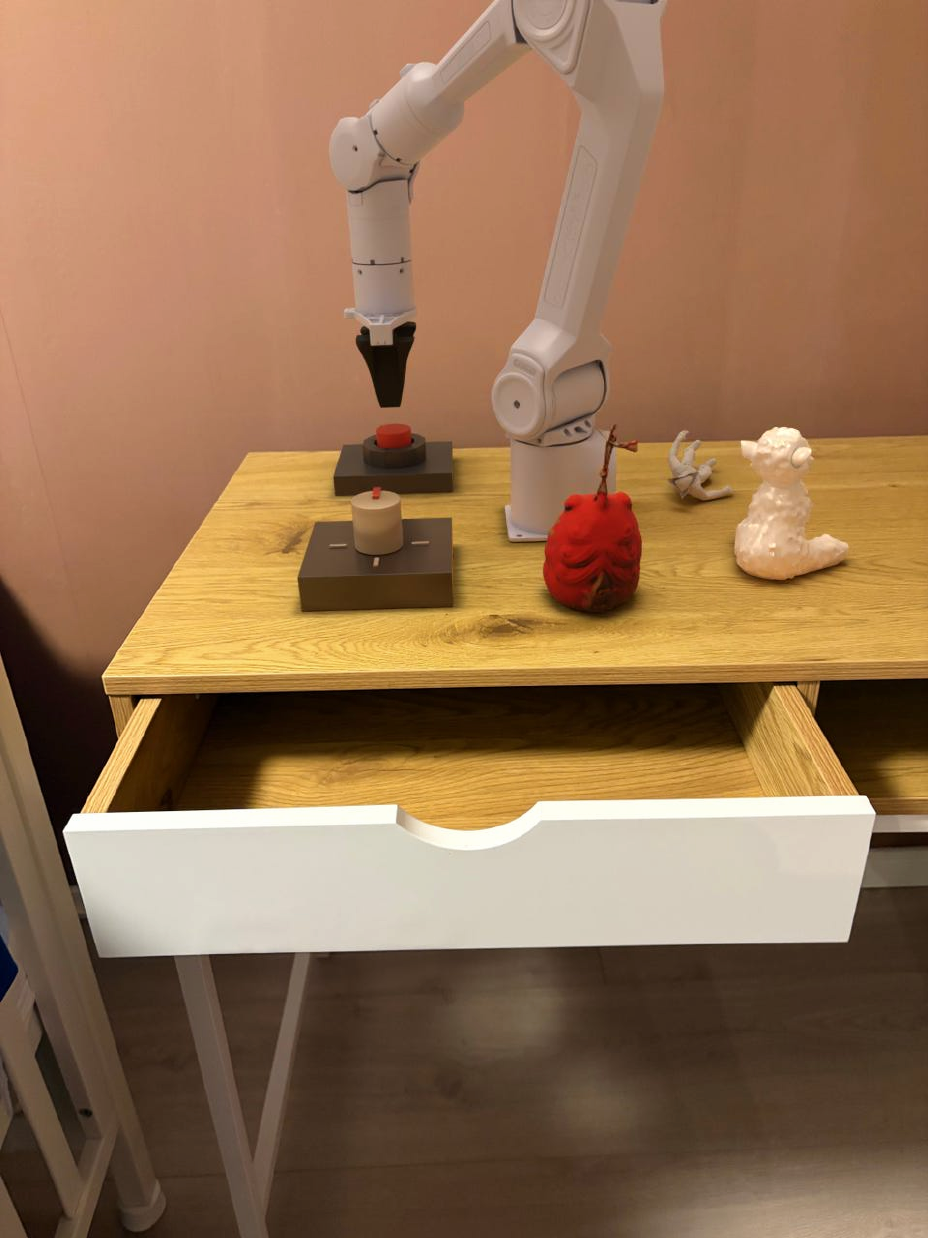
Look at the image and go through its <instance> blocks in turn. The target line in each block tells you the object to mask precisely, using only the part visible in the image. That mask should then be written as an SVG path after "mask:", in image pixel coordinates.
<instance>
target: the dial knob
mask: <svg viewBox="0 0 928 1238" xmlns="http://www.w3.org/2000/svg"><path fill="white" fill-rule="evenodd" d="M350 507H351V508H350V509H351V521H353V531H354V542H355V548H356V550H358V551H359V552H361V553H364V554H369V555H383V554H389V553H392V552H395V551H397V550H399V549H400V548H401V547H402V546H403V528H402V519H403V514H402V501H401V496H400V494H396V493H393V492H389V491H381V487H374V489H373V491H369V492H364V493H361V494H358V495H356V496H352V498H351V500H350Z"/></svg>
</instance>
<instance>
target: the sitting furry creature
mask: <svg viewBox="0 0 928 1238" xmlns="http://www.w3.org/2000/svg"><path fill="white" fill-rule="evenodd" d="M740 448H741V456H742V458H743V459H744V460H746V461H749V462H750V465H749V466H750V468H751V469H752V470H753V472H754V473H755V474H756V475H758V476H759V477H760V479H762V483H761V484H759V486H758V487H757V490H756V492H754V493H753V494H752V496H751V502H750V504H749V505H748V506H747V508H748V510H747V512H746V515H747V517H746V518H744V519H742V521H741V522H740V523H738V524H737V526H736V527H735V534H734V543H733V544H734V547H733V548H734V550H733V551H734V552H733V554H734V555H735V557H736V559H735V561H736V565H738V566H739V568H741V570H742V571H743V572H745V573H746V574H747V575H750V576H751V577H756V578H759V579H764V580H770V581H773V580H775V581H786V580H787V579H793V578H794V577H798V576H801V575H805V574H809V573H812V572H815V571H819V570H823V569H825V568H830V567H833V566H836V565H839V564H840V562H842V561H843V560H844V559H846V558H847V557H848V555H849V552H850V546H849V544H848V543H847V542H845V541H841V540H840V539H838V538H835V537H833V536H831V534H828V533H823V534H822V535H820V536H815V537H813V538H811V539H807V538H806V534H807V531H806V528H807V523H808V522H809V521H810V519H811V517H810V514H811V511H812V510H813V508H814V505H813V502H812V499H811V498H810V497H809V490H808V489H807V488H806V485H805V483H804V482H803V478H805V476H807V475H808V474H810V472H811V466H812V465H811V464H813V463H814V462H815V458H814V457H813V456H812V455H811V454H812V447H811V445H809V442H808V440H807V439H806V438H805V437H803V436H802V433H801V432H800V430H798V429H796V428H793V427H786V426H781V427H779V426H775V427H773V428H771V429H769V430H766V431H765V432H764V433H762V435H761V437H760V438H758V440H757V442H755V441H751V440H742V439H741V440H740Z"/></svg>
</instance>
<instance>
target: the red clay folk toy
mask: <svg viewBox="0 0 928 1238" xmlns="http://www.w3.org/2000/svg"><path fill="white" fill-rule="evenodd" d="M617 428H618V425H617V424H616V423H614V424H612V425H611V426H610V429H609V430H608V431H609V436H608V437H607V436H605V435H604V433H603V432H602V431H601V430H602V429H600V428H599V429H597V430H598V431H599V433H600V434H601V435H602V436H603V437H604V438H605V439H606V445H605V454H604V465H603V466H601V467H599V475H600V477H601V481H600V484H599V487H598V489H597V492H596V494H586V495H578V494H573V495H571V496H570V497H569V498H568V499H567V500H566V501H565V503H564V507H565V510H564V512H563V513H562V514H561V515H560V516H559V517H558V519H557V521H556V522H555V524H554V526H553V527H552V528H551V529H550V530H549V533H548V538H547V541H545V545H544V551H543V552H544V553H543V554H544V558H545V559H544V562H543V565H542V577H543V581H544V583H545V585H546V588H547V591H548V592H549V595H550V596H551V597H552V598H553V599H554V600H556V601H557V602H559V603H560V604H561V605H562V606H565V607H567V608H569V609H572V610H576V611H580V612H589V613H603V612H608V611H610V610H612V609H613V610H614V609H616V608H618V607H620V606H621V605H622V604H624V603H625V602H626V601H628V600H629V599H630V598H631V596H633V595H634V593H635V591H636V590H637V589H638V587H639V582H640V577H641V576H640V574H641V559H642V556H643V555H642V554H643V553H642V552H643V540H642V535H641V531H640V528H639V522H638V520H637V516H636V515H635V513H634V511H633V503H632V499H631V497H630V496H629V495H628V494H627V493H625V492H623V491H617V492H615V494H608V491H607V484H606V479H607V476H608V471H609V469H608V465H609V461H610V456H611V453H612V449H613V448H614V447H616V449H624V450H626V451H630V452H633V453H637V452H638V451H639V447H638V446H639V444H638V443H639V442H638V441H639V440H638V439H635V440H632V441H630V442H625V441H617V436H616V434H614V432H615V430H616V429H617Z"/></svg>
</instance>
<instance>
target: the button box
mask: <svg viewBox="0 0 928 1238" xmlns="http://www.w3.org/2000/svg"><path fill="white" fill-rule="evenodd" d="M411 442H412V444H410V445H409V446H405V447H401V448H383V447H378V446H377V437H376V434H373V435H371V436H369V437H367V438H365V439H363V442H362V443H358V444H357V443H355V444H354V443H353V444H343V445H342V447H341V451H340V454H339V458H338V460H337V464H336V467H335V469H334V472H333V475H332V476H333V487H334V488H333V489H334V496H335V497H354V496H356V495H358V494H361V493H364V492H369V491H373V489H374V487H381V491H389V492H393V493H396V494H398V495H415V494H416V495H417V494H444V493H445V494H449V493H451V494H452V493H454V454H453V453H454V451H453V441H452V440H450V441H449V440H447V441H426V437H424V436H423V435H421V434H419V433H414V432H411Z"/></svg>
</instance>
